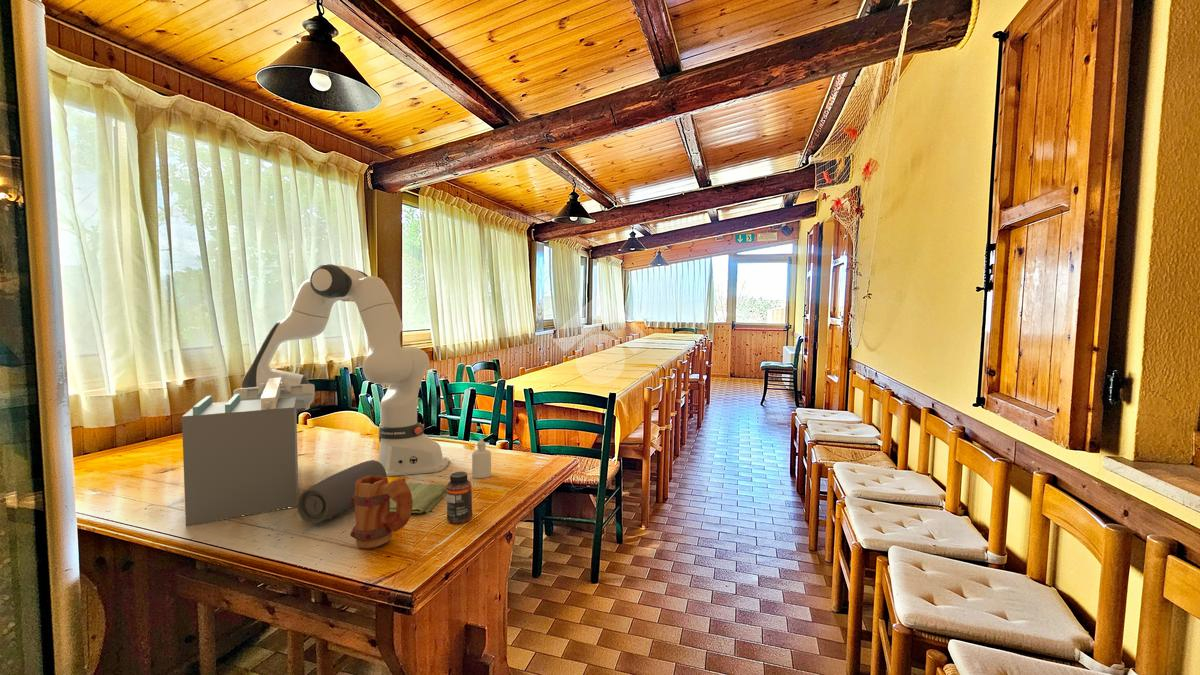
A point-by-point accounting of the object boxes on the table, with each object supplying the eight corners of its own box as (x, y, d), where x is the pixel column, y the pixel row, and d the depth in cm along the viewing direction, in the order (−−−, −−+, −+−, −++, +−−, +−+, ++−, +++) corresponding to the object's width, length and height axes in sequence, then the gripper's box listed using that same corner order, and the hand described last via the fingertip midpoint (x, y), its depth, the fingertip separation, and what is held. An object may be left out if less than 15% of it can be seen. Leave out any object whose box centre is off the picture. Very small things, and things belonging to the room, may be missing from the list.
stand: (201, 500, 128) (197, 396, 127) (298, 485, 139) (295, 390, 138) (185, 526, 113) (181, 407, 111) (296, 507, 124) (293, 399, 123)
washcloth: (374, 516, 119) (374, 504, 119) (407, 491, 137) (407, 479, 137) (425, 518, 118) (425, 505, 118) (452, 492, 136) (452, 481, 136)
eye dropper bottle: (477, 473, 151) (476, 435, 150) (493, 475, 149) (493, 437, 149) (469, 478, 146) (469, 439, 146) (486, 479, 145) (486, 440, 144)
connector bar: (269, 388, 143) (268, 378, 143) (281, 387, 145) (281, 377, 144) (260, 412, 117) (259, 400, 116) (275, 411, 118) (274, 399, 118)
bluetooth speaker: (330, 530, 111) (330, 488, 110) (295, 527, 112) (294, 485, 112) (389, 494, 133) (388, 458, 133) (358, 492, 135) (358, 457, 134)
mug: (341, 548, 102) (340, 478, 102) (372, 532, 110) (370, 467, 109) (395, 560, 97) (393, 487, 96) (423, 543, 105) (422, 475, 104)
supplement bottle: (464, 512, 121) (464, 468, 121) (476, 519, 117) (476, 473, 116) (442, 519, 117) (441, 473, 116) (454, 527, 113) (453, 479, 112)
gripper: (235, 395, 145) (229, 377, 134) (314, 390, 155) (314, 372, 145) (235, 415, 142) (228, 398, 132) (315, 408, 153) (314, 392, 142)
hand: (273, 385), depth 138 cm, fingers closed on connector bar, 3 cm apart
